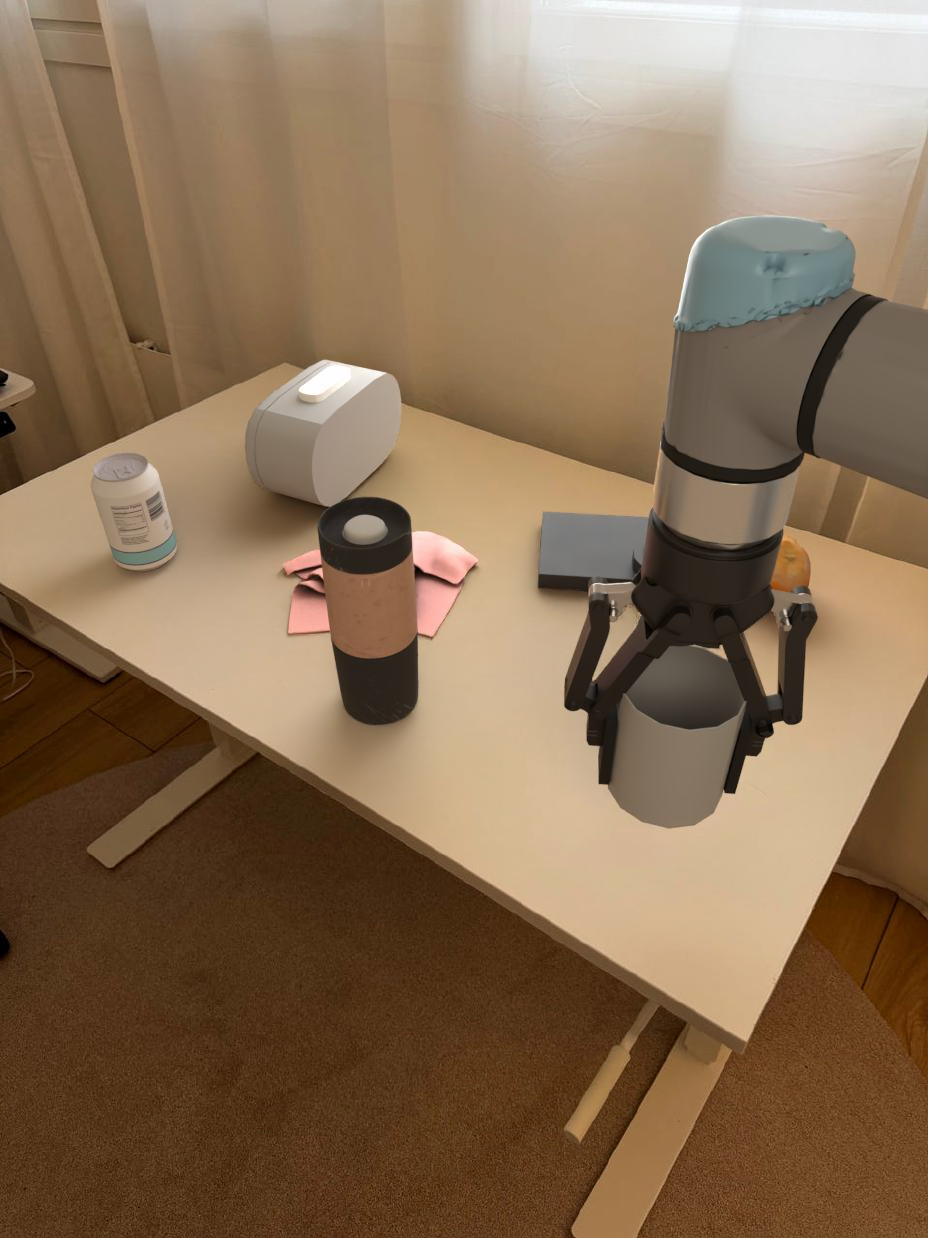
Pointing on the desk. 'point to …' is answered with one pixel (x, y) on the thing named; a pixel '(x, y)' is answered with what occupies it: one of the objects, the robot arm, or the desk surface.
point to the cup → (676, 738)
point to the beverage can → (133, 511)
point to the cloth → (434, 584)
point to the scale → (589, 549)
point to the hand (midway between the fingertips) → (665, 774)
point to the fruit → (791, 566)
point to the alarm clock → (323, 432)
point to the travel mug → (371, 606)
